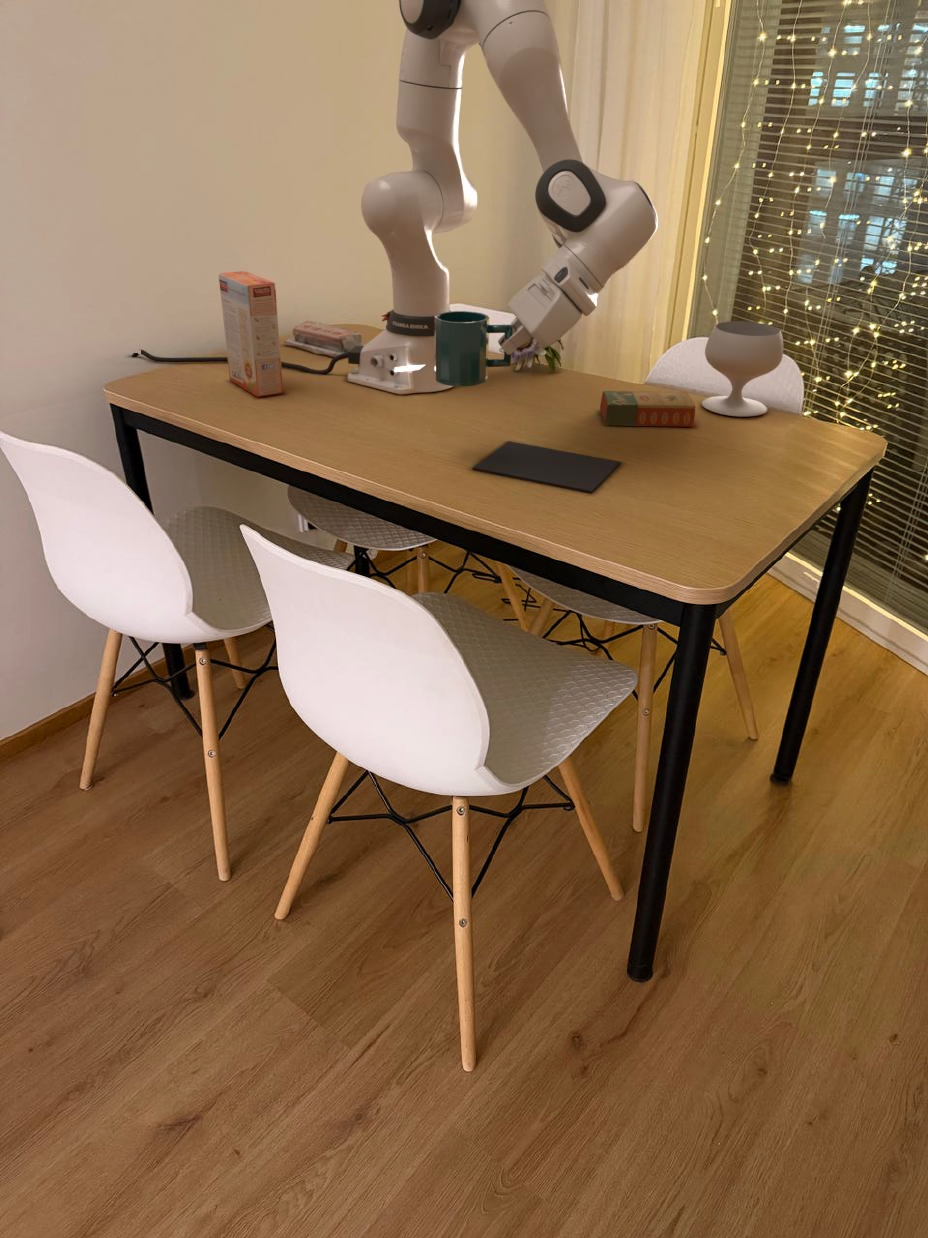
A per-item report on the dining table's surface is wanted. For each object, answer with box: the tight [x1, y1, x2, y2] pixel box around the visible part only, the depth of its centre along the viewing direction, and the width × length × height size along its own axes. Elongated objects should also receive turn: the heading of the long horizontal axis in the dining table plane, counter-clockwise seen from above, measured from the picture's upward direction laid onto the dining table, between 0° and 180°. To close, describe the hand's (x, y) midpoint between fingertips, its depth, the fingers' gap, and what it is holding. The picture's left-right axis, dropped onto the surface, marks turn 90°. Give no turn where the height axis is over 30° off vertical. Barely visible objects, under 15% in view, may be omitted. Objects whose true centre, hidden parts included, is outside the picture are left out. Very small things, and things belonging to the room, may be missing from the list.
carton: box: [599, 390, 697, 428], centre depth 167 cm, size 8×16×4 cm, turn 88°
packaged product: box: [283, 320, 367, 358], centre depth 206 cm, size 18×5×10 cm
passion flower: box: [498, 337, 565, 373], centre depth 195 cm, size 11×11×12 cm
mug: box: [434, 310, 513, 387], centre depth 141 cm, size 12×8×10 cm
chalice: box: [701, 320, 784, 417], centre depth 171 cm, size 14×14×15 cm
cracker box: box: [218, 270, 284, 398], centre depth 175 cm, size 14×6×21 cm, turn 34°
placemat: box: [472, 440, 621, 494], centre depth 146 cm, size 20×14×1 cm
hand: (502, 348), depth 141 cm, fingers closed on mug
